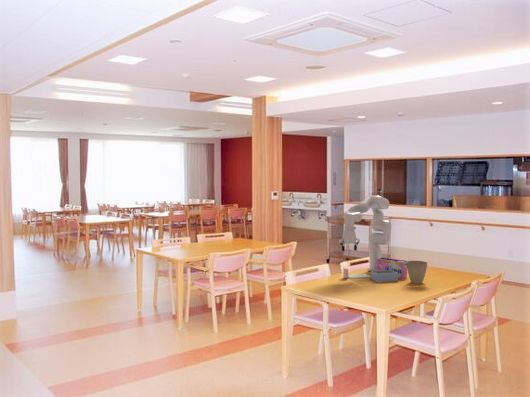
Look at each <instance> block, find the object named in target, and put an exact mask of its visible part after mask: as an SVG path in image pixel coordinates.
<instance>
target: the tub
mask: <svg viewBox="0 0 530 397" xmlns="http://www.w3.org/2000/svg"><path fill="white" fill-rule="evenodd" d="M370 276H371V278H370V280H372V281H374V282H375V283H386V282H398V281H399V278H398V273H397V272H395V271H392V270H382V271H370Z"/></svg>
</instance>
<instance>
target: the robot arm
mask: <svg viewBox="0 0 530 397" xmlns="http://www.w3.org/2000/svg"><path fill="white" fill-rule="evenodd" d="M389 207H390V201H389V199H388V198H385V197H384V196H380V195H367V196H366V197H364V199H363V200H362V201H361V202H360V203H358V204H356V205H355V204H354V205H353V206H351V207H349V208H347V210H346V212H344V215H343V217H344V220H343V221H344V222H343V223H344V226H343V227H344V230H343V231H342V237H341V238H340V239H338V243H339V244H340V246H341V250H342V252H345V250H346V249H345V245H351V244H354V245H353V250H354V251H355V252H356V251H357V250H358V245H359V244H360V241H361V239H359V238H357V234H356V229H357V227H356V226H355V223H357V222H358V223H359V222H361V221H362V219H363V214H364V213H367V212H368V211H369V210H372V211H371V212H373V215H372V226H371V227H372V230H373V231H375V232H371V233H370V234H369V236H368V241H369V242H368V243H369V267H368V268H367V270H368V271H369V272H371V271H377V259H380V258H382V247H381V246H387V245H389V244H390V242H391V235H392V223H391V221H389V220H385V219H384V217H385V216H384V215H385V214H384V211H383V210H387V209H389Z"/></svg>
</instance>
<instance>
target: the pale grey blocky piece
mask: <svg viewBox="0 0 530 397" xmlns="http://www.w3.org/2000/svg"><path fill="white" fill-rule="evenodd" d="M342 270H343V273H342V274H343V275H342V278H345V279H350V280H351V279H353V280H354V279H367V278H368V279H369V278H370V279H371V275H369V274H366V273H355V274H354V273H353V274H349V269H348V268H346V267H343V269H342Z"/></svg>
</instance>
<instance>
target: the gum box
mask: <svg viewBox="0 0 530 397" xmlns="http://www.w3.org/2000/svg"><path fill="white" fill-rule="evenodd" d="M407 261H408V260H404V259H395V258H386V257H381V258H380V259H377V271H382V270H392V271H395V272H397V273H398V279H405V278H408V270H407V263H406V262H407Z"/></svg>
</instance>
